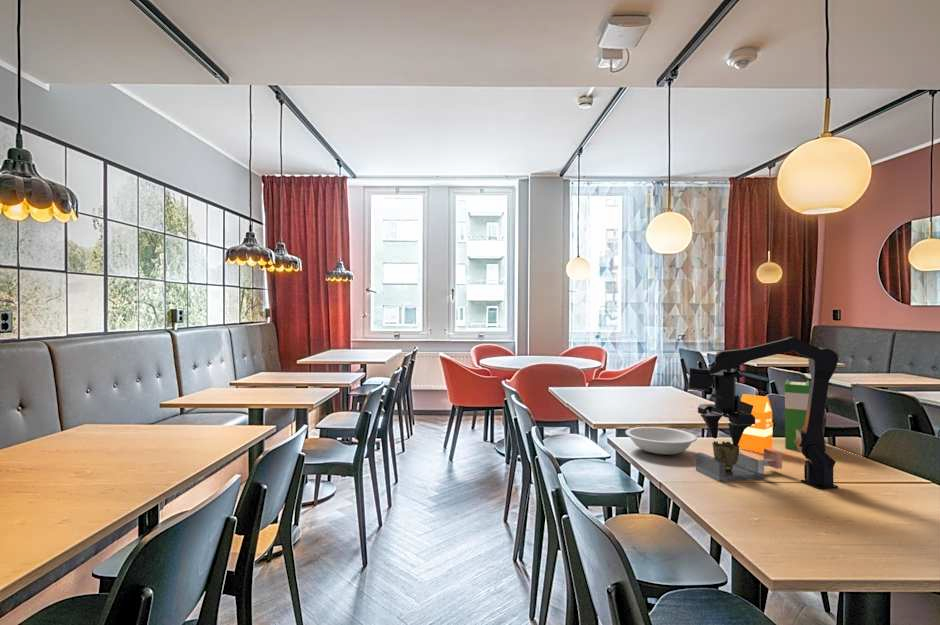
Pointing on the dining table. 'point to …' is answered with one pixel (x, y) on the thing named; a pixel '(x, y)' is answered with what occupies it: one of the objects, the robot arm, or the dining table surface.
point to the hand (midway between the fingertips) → (725, 441)
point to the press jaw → (760, 460)
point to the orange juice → (758, 425)
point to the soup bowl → (661, 439)
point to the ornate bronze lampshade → (726, 453)
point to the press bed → (734, 474)
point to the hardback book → (795, 410)
